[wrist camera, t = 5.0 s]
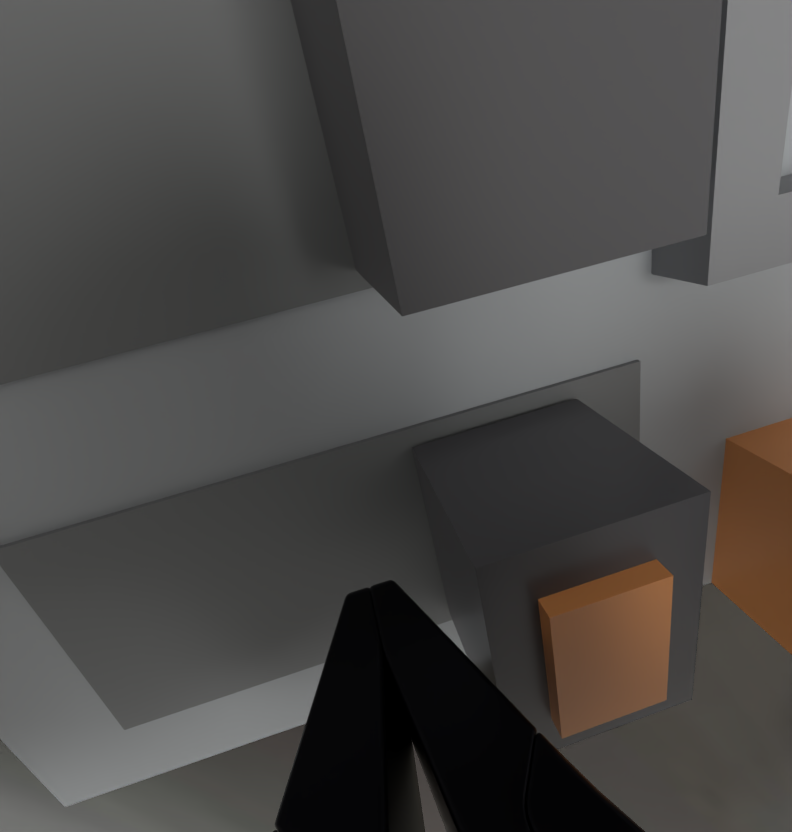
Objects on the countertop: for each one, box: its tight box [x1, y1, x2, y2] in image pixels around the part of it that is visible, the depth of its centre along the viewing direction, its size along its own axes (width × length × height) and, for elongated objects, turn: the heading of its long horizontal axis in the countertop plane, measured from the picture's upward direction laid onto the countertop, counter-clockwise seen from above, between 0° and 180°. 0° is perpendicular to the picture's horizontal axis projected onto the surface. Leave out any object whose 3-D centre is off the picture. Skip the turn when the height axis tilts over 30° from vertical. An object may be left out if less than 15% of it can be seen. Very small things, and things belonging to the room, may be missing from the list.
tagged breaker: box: [412, 399, 711, 749], centre depth 8 cm, size 3×4×3 cm
